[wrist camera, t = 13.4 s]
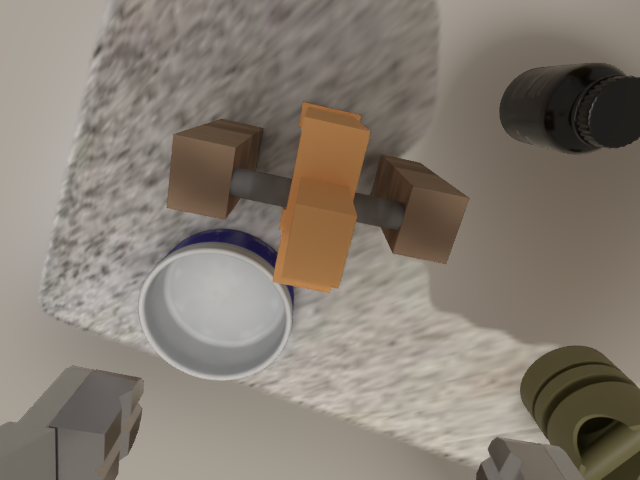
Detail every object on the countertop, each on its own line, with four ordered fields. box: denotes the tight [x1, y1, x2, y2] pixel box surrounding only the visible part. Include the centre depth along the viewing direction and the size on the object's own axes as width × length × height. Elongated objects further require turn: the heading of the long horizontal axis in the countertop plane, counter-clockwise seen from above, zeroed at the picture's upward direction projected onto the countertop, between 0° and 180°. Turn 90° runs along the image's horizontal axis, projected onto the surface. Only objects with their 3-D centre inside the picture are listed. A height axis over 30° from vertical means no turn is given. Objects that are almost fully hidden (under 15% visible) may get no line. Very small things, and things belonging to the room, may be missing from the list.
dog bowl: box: [138, 229, 294, 380], centre depth 43 cm, size 15×15×6 cm
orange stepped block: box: [272, 102, 371, 293], centre depth 28 cm, size 12×5×18 cm, turn 168°
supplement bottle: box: [500, 63, 640, 155], centre depth 33 cm, size 7×7×12 cm
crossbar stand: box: [167, 119, 469, 264], centre depth 34 cm, size 5×20×14 cm, turn 78°
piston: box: [520, 346, 640, 480], centre depth 45 cm, size 11×12×11 cm
